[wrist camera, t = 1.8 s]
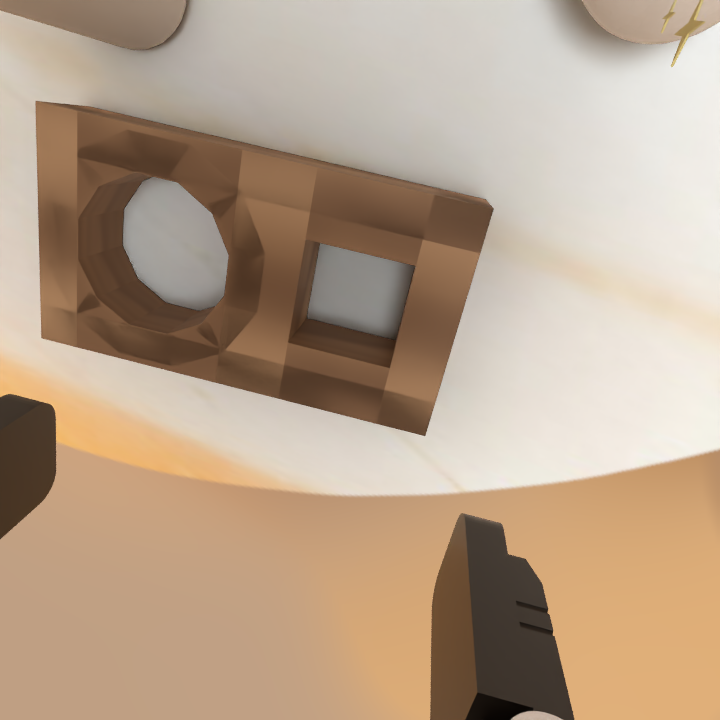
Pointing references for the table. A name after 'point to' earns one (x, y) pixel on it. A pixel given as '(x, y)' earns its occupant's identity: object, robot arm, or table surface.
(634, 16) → the round potion bottle
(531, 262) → the table surface
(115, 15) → the beverage can
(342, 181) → the walnut bore block
